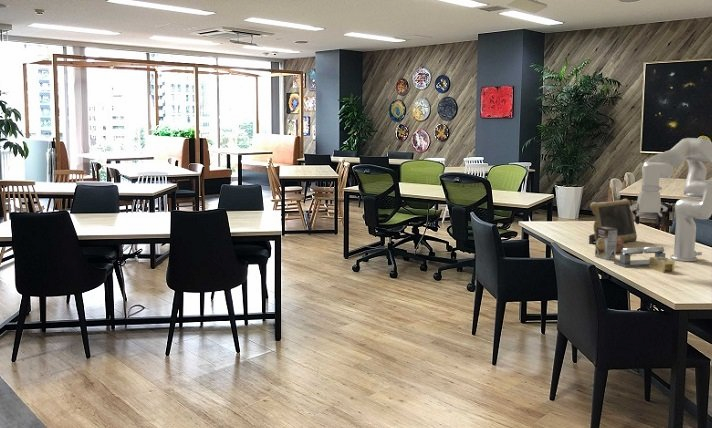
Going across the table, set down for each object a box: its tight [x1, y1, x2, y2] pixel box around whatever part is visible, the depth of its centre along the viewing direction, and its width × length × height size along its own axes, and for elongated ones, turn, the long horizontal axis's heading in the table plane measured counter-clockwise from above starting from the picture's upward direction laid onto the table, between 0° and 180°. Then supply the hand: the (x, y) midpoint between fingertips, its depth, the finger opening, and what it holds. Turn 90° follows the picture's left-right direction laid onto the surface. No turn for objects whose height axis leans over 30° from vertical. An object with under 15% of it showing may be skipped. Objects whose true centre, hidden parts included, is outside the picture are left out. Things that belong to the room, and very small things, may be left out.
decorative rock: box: [616, 235, 625, 253], centre depth 362 cm, size 13×11×10 cm
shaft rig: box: [613, 246, 666, 268], centre depth 330 cm, size 26×9×8 cm, turn 103°
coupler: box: [648, 256, 676, 274], centre depth 318 cm, size 10×6×6 cm, turn 13°
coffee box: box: [594, 226, 618, 261], centre depth 345 cm, size 9×6×16 cm
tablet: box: [588, 198, 638, 245], centre depth 388 cm, size 33×14×25 cm, turn 126°
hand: (647, 224), depth 320 cm, fingers open, 9 cm apart
